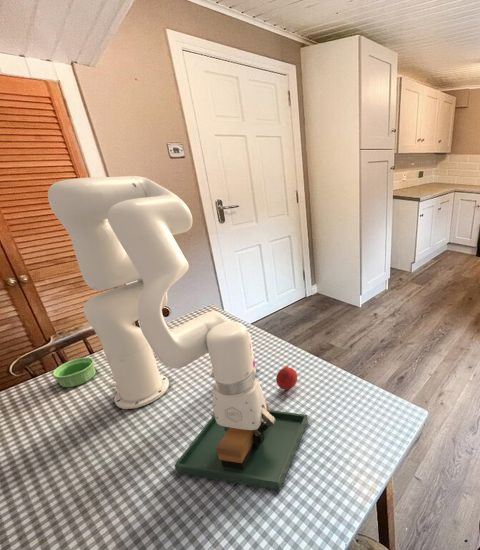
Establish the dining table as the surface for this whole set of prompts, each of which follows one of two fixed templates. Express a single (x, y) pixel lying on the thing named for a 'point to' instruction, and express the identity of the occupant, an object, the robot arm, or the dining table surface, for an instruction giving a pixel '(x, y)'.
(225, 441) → the tan wooden block
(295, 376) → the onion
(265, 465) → the tray
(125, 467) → the dining table surface
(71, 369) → the ramekin
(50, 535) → the dining table surface
